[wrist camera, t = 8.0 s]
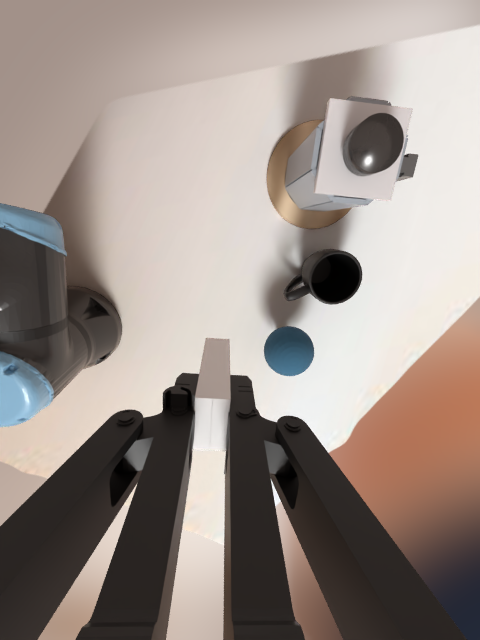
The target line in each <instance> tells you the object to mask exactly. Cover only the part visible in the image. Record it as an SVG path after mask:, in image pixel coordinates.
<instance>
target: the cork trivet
mask: <svg viewBox="0 0 480 640" xmlns="http://www.w3.org/2000/svg"><path fill="white" fill-rule="evenodd" d="M322 121H323V120H313V121H309V122H305V123H303V124H300V125H298V126H296V127H295V128H293V129H292V130H291V131H289V132H288V133H287V134H286V135H285V136H284V137H283V138H282V139H281V140H280V142H279V143H278V145H277V146H276V148H275V150H274V151H273V154H272V156H271V158H270V162H269V165H268V171H267V188H268V193H269V197H270V200H271V202H272V204H273V206H274V208H275V209H276V211H277V212H278V213H279V214H280V216H281V217H283V218H284V219H285V220H286V221H288V222H289V223H291V224H293V225H295V226H298V227H301V228H306V229H316V228H322V227H326V226H328V225H331V224H333V223H335V222H337V221H338V220H339V219H341V218H342V217H343V216H344V215H345V214H347V213H348V211H349V210H350V209H351V208H352V207H351V208H345V209H338V210H331V211H324V212H323V211H310V210H303V209H299V208H298V206H297V205H296V204H295V203H294V202H293V201H292V200H291V198H290V196H289V195H288V192H287V191H286V189H285V188H286V187H285V173H286V168H287V163H288V159H289V157H290V156H291V155H292V154H293V153H294V151H295V150H296V149H297V148H298V147H299V146H300V145H301V144H302V143H303V141H304V140H305V139H306V138H307V137H308V136H309V135H310V134H311V133H312V132H313V130H314V129H315V128H316V127H317V126H318V125H319V124H320V123H321V122H322Z"/></svg>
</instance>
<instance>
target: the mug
mask: <svg viewBox="0 0 480 640" xmlns="http://www.w3.org/2000/svg"><path fill="white" fill-rule="evenodd" d="M361 281H362V269H361V266H360V263H359V262H358V260H357V259H356V258H355V257H354V256H353V255H352V254H350V253H348V252H345V251H340V250H335V249H326V250H322V251H318V252H316V253H314V254H312V255H311V256H310V257H308V258H307V259H306V260H305V262H304V264H303V266H302V274H301V275H299V276H297V277H295V278H294V279H293V280H292V281H291V282H290V283H289V284H288V286H287V287H286V288H285V290H284V296H285V298H286V300H287V301H292V300H295V299H298V298H300V297H302V296H304V295H306V294H308V293H310V294H311V295H313V296H314V297H315V298H316V299H318V300H319V301H320V302H323V303H325V304H339V303H343V302H345V301H347V300H348V299H350V298H351V297H352V296H353V295H354V294H355V293H356V292H357V290H358V288H359V286H360V284H361ZM302 282H303V283H304V285H305V286H303V287H301V288H298V289H296V290H294V288H295V287H296V286H297V285H299V284H300V283H302ZM293 290H294V291H293Z"/></svg>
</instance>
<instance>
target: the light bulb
mask: <svg viewBox="0 0 480 640" xmlns="http://www.w3.org/2000/svg"><path fill="white" fill-rule="evenodd" d="M264 355H265V359H266V361H267V363H268V365H269V366H270V367H271V369H273V370H274V371H275V372H277V373H279V374H281V375H285V376H295V375H298V374H300V373H302V372H304V371H305V370H306V369H307V368H308V367H309V366H310V364H311V363H312V360H313V357H314V347H313V343H312V341H311V339H310V337H309V336H308V335H307V334H306V333H305V332H304V331H302V330H301V329H299V328H296V327H290V326H287V327H281V328H278V329H277V330H275V331H274V332H272V333H271V334H270V335H269V337H268V338H267V340H266V343H265V346H264Z"/></svg>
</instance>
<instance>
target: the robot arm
mask: <svg viewBox="0 0 480 640" xmlns="http://www.w3.org/2000/svg"><path fill="white" fill-rule="evenodd" d="M65 256H67V252H66V251H65V248H64V239H63V230H62V227H61V225H60V223H59V222H58V221H57V220H56V219H55V218H53V217H52V216H49V215H47V214H43V213H40V212H36V211H32V210H27V209H24V208H19V207H15V206H11V205H6V204H1V203H0V427H8V426H14V425H18V424H21V423H23V422H26V421H27V420H29V419H31V418H32V417H33V416H35V415H36V414H37V413H38V412H39V411H40V410H42V409H43V408H45V407H47V406H48V405H49V404H50V403H51V402H52V400H53V399H54V398H55V397H56V396H57V395H58V394H59V393H60V392H61V391H62V390H63V389H64V388H65V387H66V386H67V385H68V384H69V383H70V382H71V381H72V379H73V378H74V377H75V376H76V375H77V374H78V373H79V372H80V371H81V370H82V369H85V368H88V367H91V366H94V365H97V364H99V363H101V362H102V361H104V360H105V359H107V358H108V357H109V356H110V355H111V354H112V353H113V352H114V351H115V349H116V348H117V346H118V345H119V342H120V340H121V335H122V326H121V321H120V318H119V315H118V313H117V311H116V310H115V308H114V307H113V306H112V304H111V303H110V302H109V301H108V300H107V299H105V298H104V297H103V296H102V295H100V294H98V293H97V292H95V291H92V290H90V289H87V288H83V287H67V281H66V264H65ZM192 449H193V450H209V451H226V458H225V469H224V474H225V537H224V548H225V549H224V633H223V638H224V639H223V640H305V639H304V634H303V631H302V629H301V626H300V624H299V623H298V622H297V621H296V620H295V617H294V613H293V609H292V603H291V597H290V592H289V585H288V580H287V574H286V567H285V561H284V555H283V550H282V544H281V538H280V532H279V526H278V520H277V515H276V508H275V502H274V496H273V490H272V485H271V480H272V482H273V484H274V486H275V489H276V491H277V493H278V495H279V498H280V500H281V502H282V504H283V506H284V509H285V511H286V513H287V515H288V518H289V520H290V522H291V524H292V526H293V529H294V531H295V533H296V535H297V538H298V540H299V542H300V544H301V547H302V549H303V551H304V553H305V555H306V558H307V560H308V562H309V564H310V566H311V569H312V571H313V573H314V575H315V577H316V580H317V582H318V584H319V587H320V589H321V591H322V593H323V595H324V598H325V600H326V602H327V604H328V607H329V609H330V611H331V613H332V615H333V618H334V620H335V622H336V624H337V626H338V628H339V631H340V633H341V636H342V638H343V640H467V639H466V638H465V636H464V635H463V634H462V632H461V631H460V630H459V628H458V627H457V626H456V625H455V623H454V622H453V620H452V619H451V618H450V616H449V615H448V613H447V612H446V611H445V610H444V608H443V607H442V605H441V604H440V603H439V601H438V600H437V599H436V597H435V596H434V595H433V593H432V592H431V591H430V589H429V588H428V587H427V585H426V584H425V583H424V581H423V580H422V579H421V577H420V576H419V574H418V573H417V572H416V570H415V569H414V568H413V567H412V565H411V564H410V562H409V561H408V560H407V559H406V557H405V556H404V554H403V553H402V552H401V550H400V549H399V548H398V546H397V545H396V544H395V542H394V541H393V540H392V538H391V537H390V536H389V534H388V533H387V531H386V530H385V529H384V527H383V526H382V525H381V523H380V522H379V521H378V519H377V518H376V517H375V515H374V514H373V513H372V511H371V510H370V509H369V507H368V506H367V505H366V503H365V502H364V501H363V499H362V498H361V497H360V495H359V494H358V493H357V491H356V490H355V488H354V487H353V486H352V484H351V483H350V482H349V481H348V479H347V478H346V476H345V475H344V474H343V472H342V471H341V470H340V468H339V467H338V466H337V464H336V463H335V462H334V460H333V459H332V457H331V456H330V455H329V453H328V452H327V451H326V449H325V448H324V447H323V445H322V444H321V443H320V441H319V440H318V439H317V437H316V436H315V435H314V433H313V432H312V431H311V429H310V428H309V427H308V425H307V424H306V423H305V422H304V421H303V420H301V419H299V418H298V417H294V416H283V417H281V418H279V419H278V421H277V422H273V421H270V420H267V419H265V418H263V417H261V416H260V414H259V412H258V410H257V409H256V407H255V400H254V394H253V388H252V381H251V380H250V379H249V378H248V377H247V376H240V375H230V346H229V339H214V338H206V341H205V346H204V351H203V357H202V362H201V367H200V373H199V374H190V373H182V374H181V375H180V376H179V377H177V379H176V382H175V386H173V387H169V388H168V389H166V390H165V391H164V392H163V411H162V413H160V414H158V415H155V416H151V417H145V418H143V415H142V414H141V413H140V412H139V411H136V410H123V411H120V412H117V413H115V414H114V415H113V416H111V417H110V418H109V419H108V420H107V421H106V422H105V423H104V424H103V425H102V426H101V427H100V428H99V429H98V430H97V431H96V432H95V433H94V434H93V435H92V436H91V437H90V438H89V439H88V440H87V441H86V442H85V443H84V444H83V445H82V446H81V447H80V448H79V449H78V450H77V451H76V452H75V453H74V454H73V455H72V456H71V457H70V458H69V459H68V460H67V461H66V462H65V463H64V464H63V465H62V466H61V467H60V468H59V469H58V470H57V471H56V472H55V473H54V474H53V475H52V476H51V477H50V478H49V479H48V480H47V481H46V482H45V483H44V484H43V485H42V486H41V487H40V488H39V489H38V490H37V491H36V492H35V493H34V494H33V495H32V496H30V497H29V499H27V500H26V502H25V503H24V504H22V505H21V506H20V507H19V508H18V509H17V510H16V511H15V512H14V513H13V514H12V515H11V516H10V517H9V518H8V519H7V520H6V521H5V522H4V523H3V524H2V525H1V526H0V640H37V639H38V638H39V636H40V635H41V633H42V632H43V630H44V628H45V627H46V625H47V624H48V622H49V620H50V619H51V618H52V616H53V614H54V613H55V611H56V610H57V608H58V606H59V605H60V603H61V602H62V600H63V599H64V597H65V596H66V594H67V592H68V591H69V589H70V588H71V586H72V585H73V583H74V581H75V579H76V578H77V577H78V575H79V574H80V572H81V570H82V569H83V567H84V566H85V564H86V563H87V561H88V559H89V558H90V556H91V555H92V553H93V552H94V550H95V548H96V547H97V545H98V544H99V542H100V540H101V539H102V537H103V536H104V534H105V533H106V531H107V530H108V528H109V526H110V525H111V523H112V522H113V520H114V519H115V517H116V515H117V514H118V512H119V511H120V509H121V508H122V506H123V504H124V503H125V501H126V500H127V498H128V497H129V495H130V494H131V492H132V490H133V489H134V487H135V486H136V484H137V483H138V484H137V487H136V490H135V493H134V496H133V498H132V501H131V504H130V507H129V510H128V513H127V516H126V519H125V522H124V525H123V528H122V531H121V534H120V537H119V539H118V542H117V545H116V548H115V551H114V554H113V557H112V560H111V563H110V565H109V568H108V571H107V574H106V577H105V580H104V583H103V586H102V589H101V592H100V595H99V598H98V601H97V604H96V606H95V609H94V612H93V614H92V617H91V619H90V621H89V622H88V623H87V624H86V625H85V626H83V627H82V628H81V631H80V632H79V634H78V636H77V638H76V640H166V634H167V627H168V621H169V613H170V607H171V600H172V592H173V586H174V579H175V572H176V565H177V558H178V552H179V544H180V538H181V532H182V525H183V518H184V511H185V504H186V497H187V490H188V484H189V477H190V470H191V463H192ZM270 478H271V479H270Z"/></svg>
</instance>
